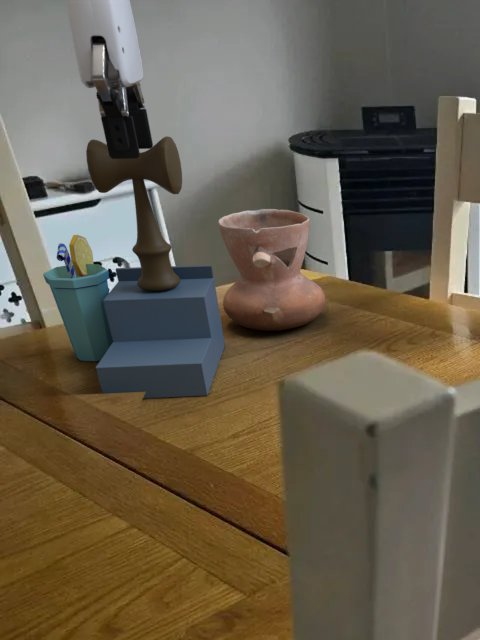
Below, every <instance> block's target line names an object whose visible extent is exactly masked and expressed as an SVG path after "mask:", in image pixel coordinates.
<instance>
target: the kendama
mask: <svg viewBox="0 0 480 640" xmlns="http://www.w3.org/2000/svg"><path fill="white" fill-rule="evenodd" d="M85 153H86V155H85V156H86V164H87V165H86V166H87V171H88V174H89V177H90V180H91V182H92V185H93V186H94V189H96V191H97V192H99V193H100V194H106V193H109V192H111V191H112V190H113V189H115V188H116V187H117V186H119V185H121V184H122V183H124V182H126V181H130V180H131V182H132V189H133V197H134V206H135V207H134V209H135V219H136V231H137V232H136V234H137V235H136V242H135V243H134V245H133V246H132V249H131V251H132V252H133V253H134V255H136V256H137V258H138V261H139V265H140V267H141V277H140V278H139V279H138V282H137V285H138V286H139V287H140V288H141V289H144V290H149V291H163V290H168V289H172V288H174V287H176V286H178V285H179V284H180V278H179V277H178V276H177V275H176V274H175V273H174V271H173V269H172V267H171V266H172V264H171V259H170V252H171V250H172V245H171V244H170V243H168V242H167V240H165V238H164V237H163V234H162V232H161V230H160V227H159V225H158V222H157V219H156V216H155V213H154V210H153V207H152V203H151V201H150V197H149V194H148V190H147V186H146V184H145V180H146V181H149V182H152V183H154V184H156V185H157V186H159V187H160V188H162V189H163V190H165V191H166V192H168V193H170V194H172V195H179V194H180V193H181V190H182V187H183V170H182V162H181V157H180V153H179V150H178V147H177V144H176V143H175V141H174V139H173V138H172V137H171V136H164V137H162V138H161V139H160V140H159V141H157V143H155V144H153V147H152V148H150V149H146V150H145V151H142V152H140V156H139V157H138V158H133V159H112V158H111V157H110V156H109V152H108V147H107V143H104V142H102V141H100V140H98V139H90V140H89V141H88V142H87V146H86V150H85Z"/></svg>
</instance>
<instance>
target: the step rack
mask: <svg viewBox="0 0 480 640" xmlns="http://www.w3.org/2000/svg"><path fill="white" fill-rule="evenodd" d="M171 267H172V269H173V271H174V273H175V274H176V275H177V276H178V277H179V278H180V284H179V285H178V286H176V287H174V288H172V289H168V290H163V291H149V290H144V289H141V288H140V287H139V286H138V285H137V282H138V279H139V278H140V277H141V266H140V267H139V266H138V267H116V268H115V273H116V278H117V283H116V284H115V285H114V286H113V287H112V289H111V290H109V294H108V295H107V296H106V297H105V299H104V300H103V303H104V307H105V311H106V315H107V319H108V323H109V327H110V331H111V335H112V339H113V343H112V344H111V346H110V347H109V349H108V350H107V352H106V353H105V355H104V356H103V358H102V359H101V360H99V362H98V363H97V364H96V366H95V371H96V374H97V378H98V382H99V386H100V389H101V393H102V395H103V394H105V395H107V394H127V393H144V395H143V397H142V400H143V399H163V398H164V399H165V398H166V399H167V398H183V397H184V398H188V397H208V396H209V395H208V394H209V393H210V389H211V387H212V384H213V380H214V378H215V375H216V373H217V369H218V367H219V364H220V361H221V358H222V355H223V354H224V353H223V352H224V349H225V347H226V342H225V336H224V335H225V334H224V329H223V324H222V318H221V311H220V306H219V300H218V295H217V287H216V282H215V278H214V270H213V265H212V264H200V265H197V264H196V265H171Z"/></svg>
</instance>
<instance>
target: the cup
mask: <svg viewBox="0 0 480 640" xmlns="http://www.w3.org/2000/svg"><path fill="white" fill-rule="evenodd" d="M68 248H69V250H68ZM56 259H57V261H59V262H64V265H62V266H61V265H60V266H56V267H54V268H52V269H49V270H47V271H46V272H43V274H42V276H43V278H44V281H45V283H46V284H47V285H49V288H50V291H51V293H52V297H53V299H54V302H55V304H56V307H57V310H58V312H59V315H60V318H61V320H62V322H63V325H64V328H65V331H66V333H67V336H68V339H69V341H70V344H71V346H72V349H73V352H74V355H75V358H77V359H78V360H79V361H81V362H98V361H99V362H100V361H101V359H102V358H103V356H104V355H105V353H106V352H107V350H108V349H109V347H110V346H111V344H112V343H113V339H112V335H111V331H110V327H109V323H108V319H107V315H106V311H105V307H104V303H103V300H104V299H105V297H106V296H107V295H108V294H109V293H110V289H109V281H108V280H109V279H110V276H109V275H110V274H109V273H110V272H109V269H107V268H105V267H104V266H102V265H101V264H99V263H94V262H95V261H94V255H93V250H92V248H91V246H90V244H89V242H88V240H87V238H86V237H84V236H82V235H79V234H72V237H71V239H70V241H69V244H68V247H67V246H66V245H65V243H63V242H60V243H58V245H57V251H56Z"/></svg>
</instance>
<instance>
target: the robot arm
mask: <svg viewBox="0 0 480 640" xmlns="http://www.w3.org/2000/svg"><path fill="white" fill-rule="evenodd" d="M65 3H66V9H67V14H68V15H67V16H68V20H69V27H70V32H71V36H72V42H73V47H74V53H75V58H76V63H77V68H78V73H79V78H80V81H81V83H82V85H84V86H85V87H86V88H88V89H93V88H95V89H96V92H95V93H96V95H95V96H96V99H97V103H98V110H99V111H98V112H99V114H100V120H101V125H102V129H103V134H104V138H105V142H106V143H105V144H106V145H107V147H108V152H109V156H110V157H111V158H112V159H133V158H138V157H139V156H140V153H141V152H140V150H142V149H143V150H149V149H150V148H152V147H153V146H154V143H153V137H152V133H151V127H150V123H149V122H150V121H149V117H148V112H147V108H146V102H145V99H144V96H143V95H144V94H143V91H142V87H141V83H140V82H141V81H142V80H143V79H144V68H143V67H144V66H143V61H142V54H141V49H140V44H139V43H140V42H139V39H138V33H137V28H136V23H135V19H134V13H133V9H132V5H131V1H130V0H65Z"/></svg>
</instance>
